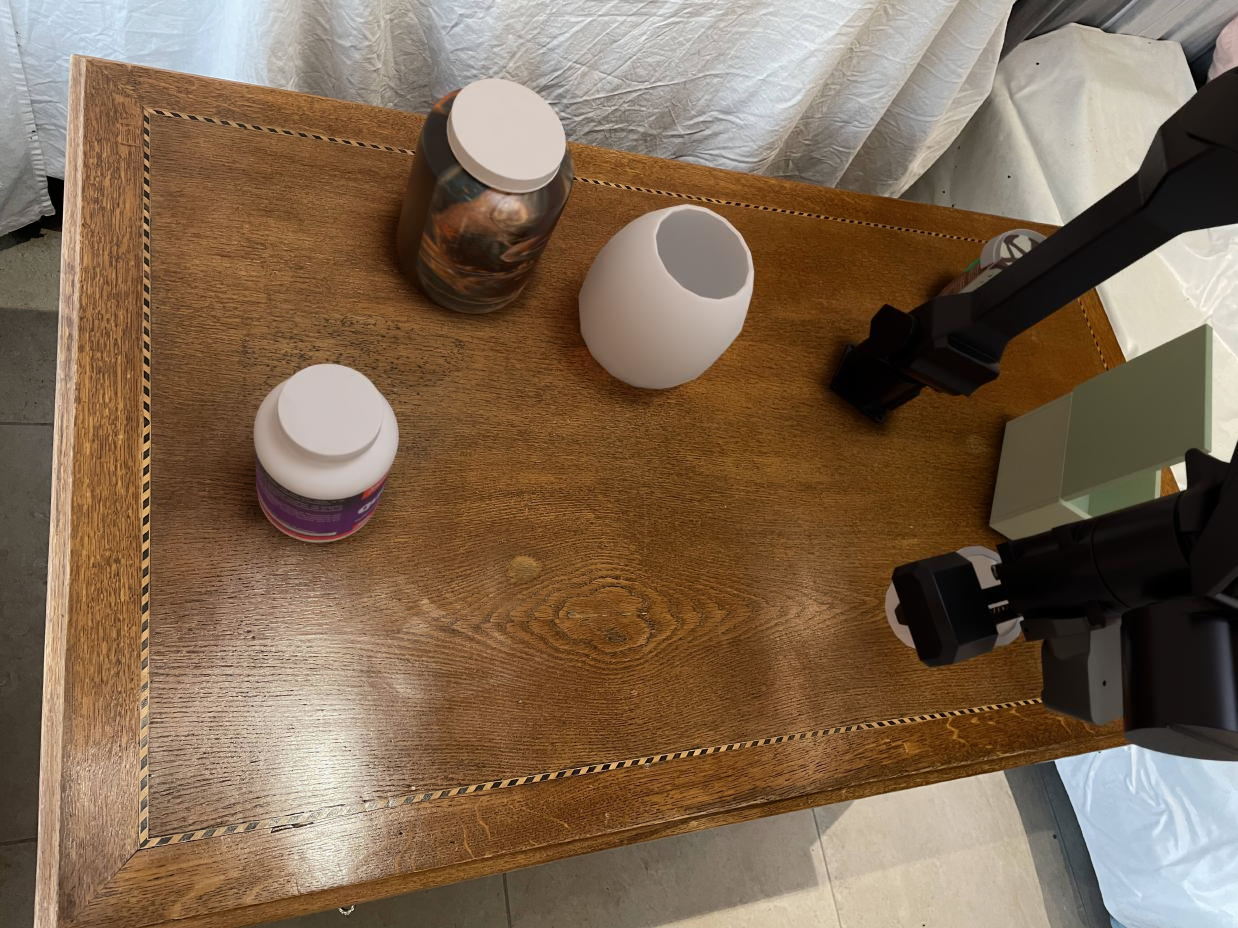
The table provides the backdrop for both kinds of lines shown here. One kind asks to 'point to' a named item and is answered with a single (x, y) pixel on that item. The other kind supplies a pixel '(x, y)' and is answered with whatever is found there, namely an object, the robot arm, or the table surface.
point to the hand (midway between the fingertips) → (929, 607)
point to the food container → (994, 259)
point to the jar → (483, 195)
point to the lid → (1140, 415)
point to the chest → (1050, 477)
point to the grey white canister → (982, 566)
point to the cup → (666, 296)
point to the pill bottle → (323, 452)
